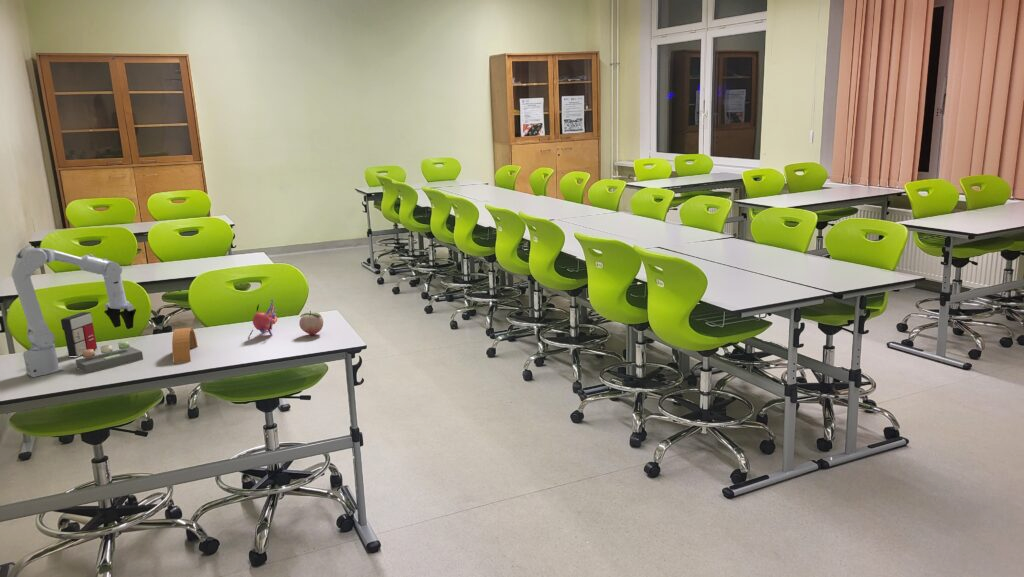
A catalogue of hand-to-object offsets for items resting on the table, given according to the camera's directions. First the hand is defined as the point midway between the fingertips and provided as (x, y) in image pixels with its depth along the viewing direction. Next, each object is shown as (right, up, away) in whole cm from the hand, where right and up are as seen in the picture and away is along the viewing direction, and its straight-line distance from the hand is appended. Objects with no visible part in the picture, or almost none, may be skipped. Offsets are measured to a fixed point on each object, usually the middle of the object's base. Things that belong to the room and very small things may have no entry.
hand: (123, 327), depth 278 cm
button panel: (+1, -12, -12) cm, 17 cm away
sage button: (+4, -7, -7) cm, 11 cm away
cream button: (0, -8, -11) cm, 14 cm away
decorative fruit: (+68, -4, +13) cm, 69 cm away
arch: (+26, -10, -5) cm, 28 cm away
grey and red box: (-17, -10, +3) cm, 20 cm away
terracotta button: (-4, -9, -16) cm, 19 cm away
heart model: (+47, -4, +17) cm, 50 cm away
